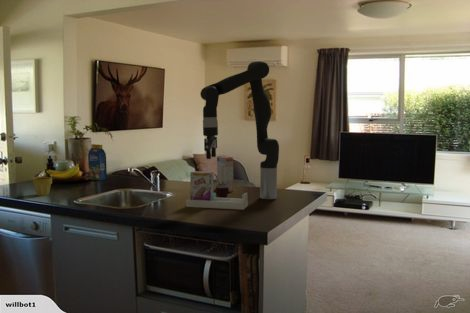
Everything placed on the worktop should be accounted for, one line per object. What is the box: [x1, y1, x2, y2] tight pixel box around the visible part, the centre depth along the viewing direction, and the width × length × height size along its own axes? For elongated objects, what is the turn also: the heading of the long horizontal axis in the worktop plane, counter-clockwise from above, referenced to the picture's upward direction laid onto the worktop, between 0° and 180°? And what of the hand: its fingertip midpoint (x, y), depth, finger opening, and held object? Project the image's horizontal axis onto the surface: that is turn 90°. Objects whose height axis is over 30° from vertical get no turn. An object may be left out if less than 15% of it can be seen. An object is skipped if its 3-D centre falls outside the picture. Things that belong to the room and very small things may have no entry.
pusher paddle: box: [210, 192, 231, 201], centre depth 229 cm, size 7×9×5 cm
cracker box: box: [216, 155, 234, 193], centre depth 274 cm, size 14×6×21 cm, turn 22°
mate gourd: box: [213, 172, 230, 198], centre depth 248 cm, size 8×8×15 cm
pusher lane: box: [185, 192, 249, 211], centre depth 229 cm, size 9×30×7 cm, turn 76°
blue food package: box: [87, 143, 108, 182], centre depth 316 cm, size 6×12×25 cm, turn 56°
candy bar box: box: [189, 170, 214, 201], centre depth 230 cm, size 11×5×16 cm, turn 74°
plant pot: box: [32, 176, 53, 197], centre depth 261 cm, size 10×10×10 cm
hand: (211, 157), depth 229 cm, fingers open, 8 cm apart
